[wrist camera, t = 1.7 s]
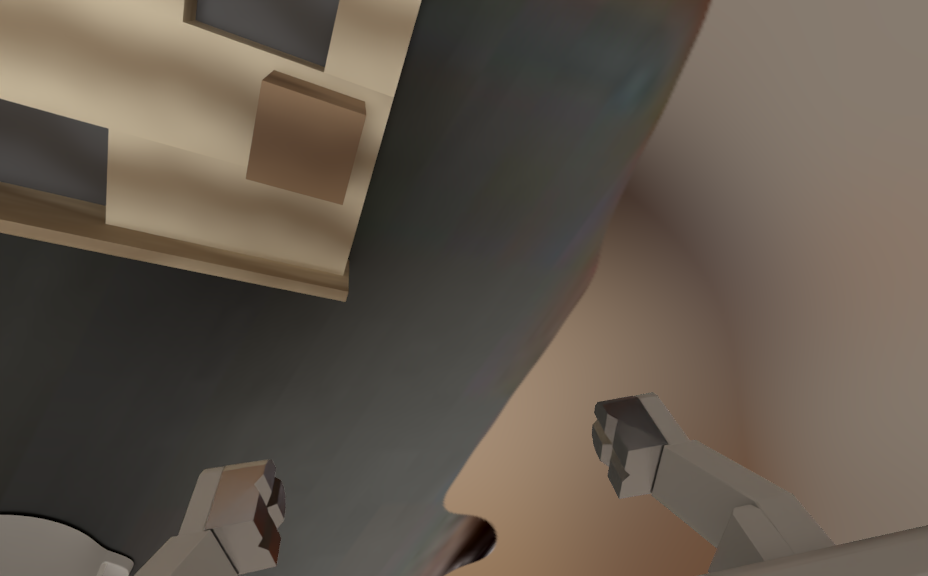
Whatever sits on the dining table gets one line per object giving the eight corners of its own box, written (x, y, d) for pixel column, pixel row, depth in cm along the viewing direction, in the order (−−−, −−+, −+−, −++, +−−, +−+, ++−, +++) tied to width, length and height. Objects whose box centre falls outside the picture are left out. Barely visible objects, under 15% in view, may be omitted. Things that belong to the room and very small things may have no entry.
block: (343, 181, 30) (342, 205, 26) (258, 157, 28) (245, 179, 25) (364, 101, 27) (366, 115, 24) (273, 69, 26) (261, 80, 22)
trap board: (346, 269, 35) (345, 301, 32) (-148, 159, 26) (-232, 186, 22) (430, -23, 27) (442, -27, 23) (-249, -335, 18) (-411, -426, 14)
